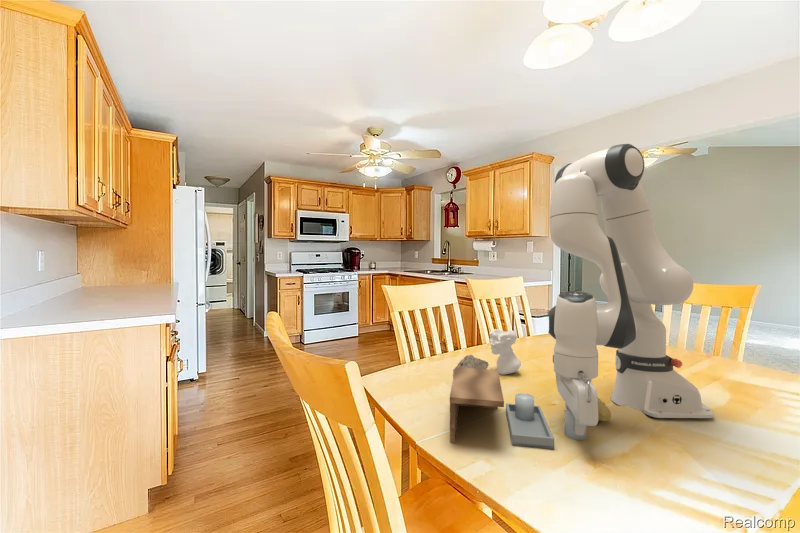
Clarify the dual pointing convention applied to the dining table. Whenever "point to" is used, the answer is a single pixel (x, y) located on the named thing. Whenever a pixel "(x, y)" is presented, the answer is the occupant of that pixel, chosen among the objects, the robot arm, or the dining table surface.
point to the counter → (473, 392)
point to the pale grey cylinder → (524, 407)
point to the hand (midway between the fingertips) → (575, 427)
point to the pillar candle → (571, 426)
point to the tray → (529, 429)
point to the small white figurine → (504, 351)
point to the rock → (471, 363)
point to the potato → (603, 411)
